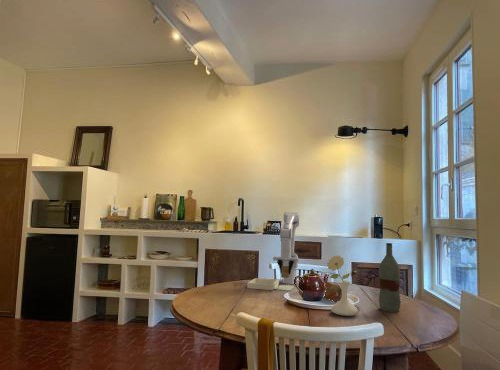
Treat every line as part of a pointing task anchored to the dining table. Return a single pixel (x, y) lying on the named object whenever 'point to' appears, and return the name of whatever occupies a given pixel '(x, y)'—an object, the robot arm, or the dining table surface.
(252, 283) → the cream tray
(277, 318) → the dining table surface
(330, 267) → the flower in vase
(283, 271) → the block
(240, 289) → the dining table surface
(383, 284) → the bottle
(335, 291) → the tin
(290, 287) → the mat
